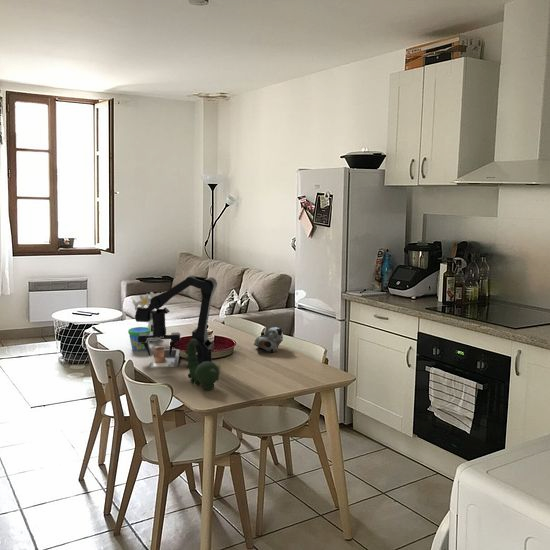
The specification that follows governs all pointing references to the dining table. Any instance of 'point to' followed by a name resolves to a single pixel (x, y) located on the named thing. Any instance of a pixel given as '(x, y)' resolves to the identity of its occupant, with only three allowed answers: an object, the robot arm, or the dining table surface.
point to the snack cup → (134, 337)
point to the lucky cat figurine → (270, 339)
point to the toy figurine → (200, 368)
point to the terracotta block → (159, 354)
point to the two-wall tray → (167, 359)
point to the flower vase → (147, 302)
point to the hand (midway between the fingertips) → (159, 355)
